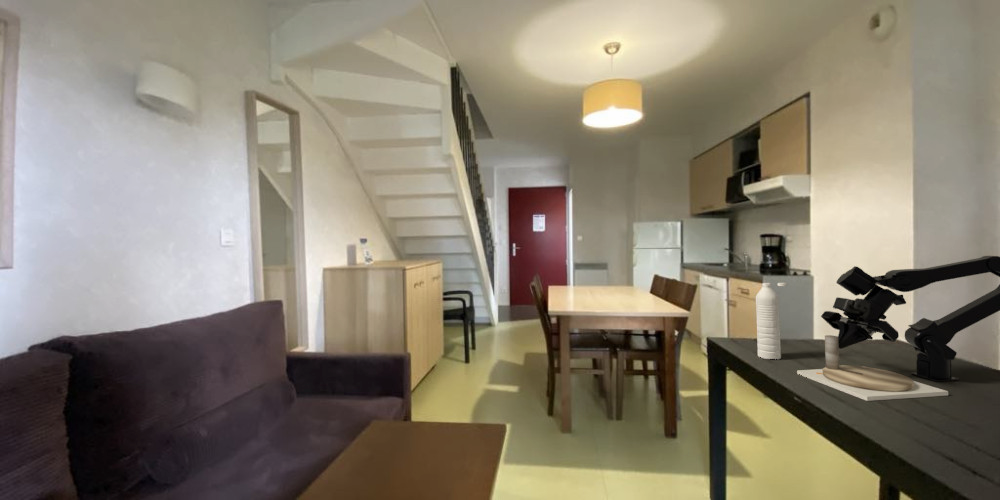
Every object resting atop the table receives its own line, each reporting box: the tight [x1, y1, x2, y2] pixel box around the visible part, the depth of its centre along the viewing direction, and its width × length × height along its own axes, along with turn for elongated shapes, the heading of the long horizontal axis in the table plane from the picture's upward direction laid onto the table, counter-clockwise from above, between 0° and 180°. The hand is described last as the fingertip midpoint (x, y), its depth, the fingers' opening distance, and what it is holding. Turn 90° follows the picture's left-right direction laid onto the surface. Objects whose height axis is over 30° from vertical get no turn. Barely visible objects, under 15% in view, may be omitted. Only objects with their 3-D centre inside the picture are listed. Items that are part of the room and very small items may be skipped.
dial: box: [822, 334, 915, 391], centre depth 108 cm, size 18×18×10 cm
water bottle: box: [755, 282, 788, 360], centre depth 134 cm, size 9×6×25 cm
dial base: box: [796, 366, 949, 402], centre depth 108 cm, size 21×21×1 cm
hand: (838, 347), depth 114 cm, fingers closed, pressing on dial
